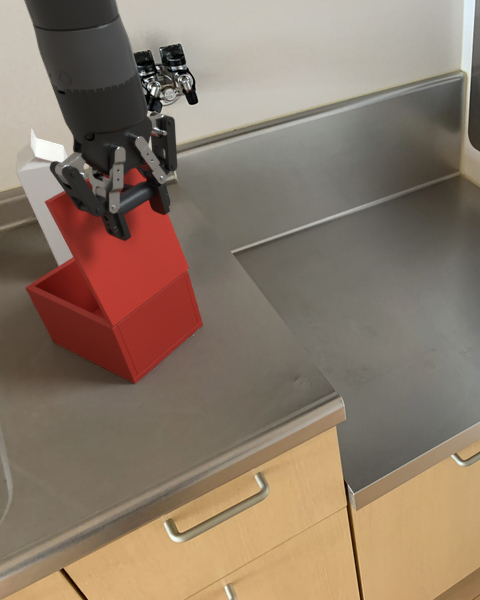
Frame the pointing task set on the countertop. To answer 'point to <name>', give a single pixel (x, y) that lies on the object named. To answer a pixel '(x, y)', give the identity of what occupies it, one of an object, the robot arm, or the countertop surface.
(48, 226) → the milk
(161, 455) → the countertop surface
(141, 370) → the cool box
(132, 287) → the red box lid
